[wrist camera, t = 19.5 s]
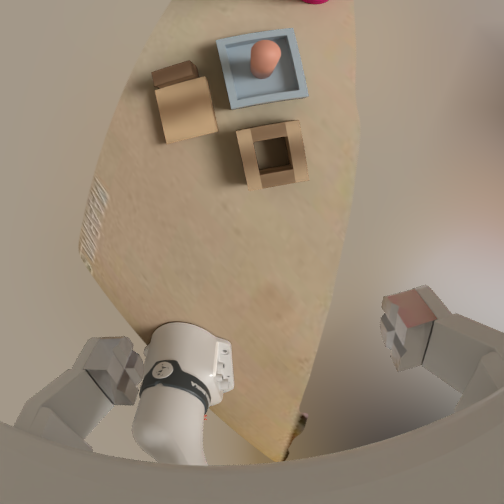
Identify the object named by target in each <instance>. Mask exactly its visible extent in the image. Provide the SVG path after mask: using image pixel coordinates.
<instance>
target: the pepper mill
mask: <svg viewBox="0 0 504 504" xmlns="http://www.w3.org/2000/svg"><path fill="white" fill-rule="evenodd" d="M302 1H304V2H307V3H310V4H322V3H325V2H327V1H328V0H302Z"/></svg>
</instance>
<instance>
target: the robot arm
mask: <svg viewBox="0 0 504 504" xmlns="http://www.w3.org/2000/svg"><path fill="white" fill-rule="evenodd" d="M382 309H383V311H384V312H385V313H384V315H383V316H382V317H381V320H380V330H381V336H382V339H383V342H384V344H385V346H386V347H387V348H389V349H391V350H392V351H391V356H390V357H391V359H392V361H393V363H394V365H395V367H396V370H397V371H398V372H400V371H404V370H407V369H410V368H413V367H417V366H420V365H422V367H424V368H425V369H427V370H428V371H430V372H431V373H432V374H434V375H435V376H437V377H438V378H440V379H441V380H443V381H444V382H446V383H447V384H448V385H450V386H451V387H453V388H454V389H455V390H457V391H458V392H460V393H461V394H463V395H462V396H461V398H460V400H459V402H458V403H457V405H456V407H455V409H454V411H455V413H453V414H451V415H449V416H447V417H445V418H442V419H440V420H438V421H436V422H433V423H431V424H428V425H426V426H423V427H421V428H418V429H415V430H413V431H410V432H407V433H404V434H402V435H399V436H396V437H393V438H390V439H386V440H383V441H380V442H376V443H373V444H369V445H366V446H362V447H359V448H355V449H350V450H346V451H342V452H337V453H332V454H328V455H322V456H317V457H311V458H305V459H298V460H291V461H283V462H274V463H263V464H249V465H221V466H209V465H208V463H207V461H206V458H205V455H204V451H203V421H204V420H207V419H204V417H206V416H207V415H205V414H206V412H207V409H208V408H209V406H213V405H216V404H218V403H220V402H221V401H222V398H223V393H225V392H228V391H230V390H232V389H233V388H234V375H233V362H232V349H231V343H230V342H229V341H227V340H225V339H221V338H218V337H215V336H214V335H212V334H211V333H209V332H208V331H206V330H204V329H203V328H201V327H198V326H196V325H192V324H188V323H181V322H175V323H168V324H165V325H162V326H160V327H159V328H158V329H156V330H155V332H154V333H153V335H152V338H151V342H150V344H149V345H147V346H146V347H145V349H144V355H145V356H146V359H145V363H144V364H143V361H142V359H141V357H140V355H139V354H138V353H136V352H134V351H133V350H132V349H133V344H132V342H131V341H130V339H129V338H128V337H125V336H124V337H102V338H101V337H100V338H91V339H89V340H88V341H87V343H86V344H85V346H84V348H83V350H82V351H81V353H80V355H79V357H78V358H77V360H76V362H75V364H74V365H73V367H72V369H68V370H67V371H65V372H64V373H63V374H61V375H60V376H59V377H57V378H56V379H55V380H54V381H52V382H51V383H50V384H48V385H47V386H46V387H44V388H43V389H42V390H41V391H39V392H38V393H37V394H36V395H34V396H33V397H32V398H30V399H29V400H28V401H27V402H26V403H25V405H24V407H23V409H22V411H21V413H20V415H19V416H18V418H17V421H16V423H15V425H14V427H12V426H10V425H8V424H6V423H3V422H1V421H0V504H504V333H503V332H500V331H498V330H495V329H493V328H490V327H488V326H486V325H483V324H481V323H479V322H476V321H474V320H471V319H469V318H467V317H464V316H462V315H459V314H453V315H452V313H451V312H450V311H449V310H448V308H447V307H446V306H445V305H444V303H443V302H442V301H441V300H440V299H439V297H438V296H437V295H436V294H435V293H434V292H433V290H431V288H430V287H429V286H427V285H423V286H420V287H416V288H413V289H411V290H407V291H404V292H399V293H395V294H392V295H388V296H384V297H383V300H382ZM142 379H143V382H142V383H141V387H140V393H139V396H140V401H139V404H138V408H137V411H136V414H135V417H134V421H133V425H132V434H133V437H134V439H135V441H136V442H137V444H138V445H139V446H140V447H141V449H142V450H143V451H145V452H146V453H147V454H148V455H150V456H151V457H153V458H154V459H155V460H156V461H157V462H158V463H155V462H147V461H139V460H132V459H126V458H120V457H114V456H108V455H104V454H99V453H95V452H93V449H92V447H91V446H90V445H89V444H88V443H86V442H85V441H84V439H85V438H86V437H87V436H88V435H89V433H90V432H91V431H92V430H93V429H94V428H95V427H96V426H97V425H98V423H99V422H100V421H101V420H102V419H103V418H104V417H105V416H106V414H107V413H108V412H109V411H110V410H111V409H112V408H113V407H114V405H134V404H135V401H136V397H137V394H138V391H139V390H138V387H137V385H138V384H139V383H140V382H141V381H142Z"/></svg>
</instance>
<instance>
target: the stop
mask: <svg viewBox="0 0 504 504" xmlns="http://www.w3.org/2000/svg"><path fill="white" fill-rule="evenodd" d="M151 73H152V77H153V82H154V86H155V87H159V88H164V87H167V86H171V85H174V84H177V83H181V82H184V81H188V80H192V79H196V78H199V74H198V70H197V67H196V66H195V65H194V64H193V63H192V62H191V61H190V60H189V61H186V62H182V63H179V64H176V65H172V66H169V67H166V68H163V69H160V70H157V71H154V72H151Z"/></svg>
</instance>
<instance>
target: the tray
mask: <svg viewBox="0 0 504 504" xmlns="http://www.w3.org/2000/svg"><path fill="white" fill-rule="evenodd" d="M261 40H270V41H273V42H275V43H276V44H277V45H278V46H279V48H280V50H281V57H280V59H279V61H278V63H277V65H276V67H275V69H274V71H273V73H272V74H271V76H269V77H268V78H266V79H259V78H256V77H254V76H253V75H252V73H251V70H250V64H251V48H252V46H253V45H254V44H255V43H256V42H258V41H261ZM216 43H217V48H218V52H219V56H220V61H221V65H222V70H223V74H224V79H225V83H226V87H227V92H228V96H229V101H230V105H231V109H232V110H235V109H240V108H245V107H250V106H255V105H261V104H266V103H272V102H279V101H285V100H292V99H300V98H306V97H308V96H309V95H308V90H307V85H306V80H305V76H304V71H303V67H302V62H301V58H300V54H299V50H298V46H297V41H296V38H295V34H294V30H293V28H288V29H278V30H270V31H263V32H256V33H250V34H244V35H239V36H234V37H229V38H224V39H219V40H216Z"/></svg>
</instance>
